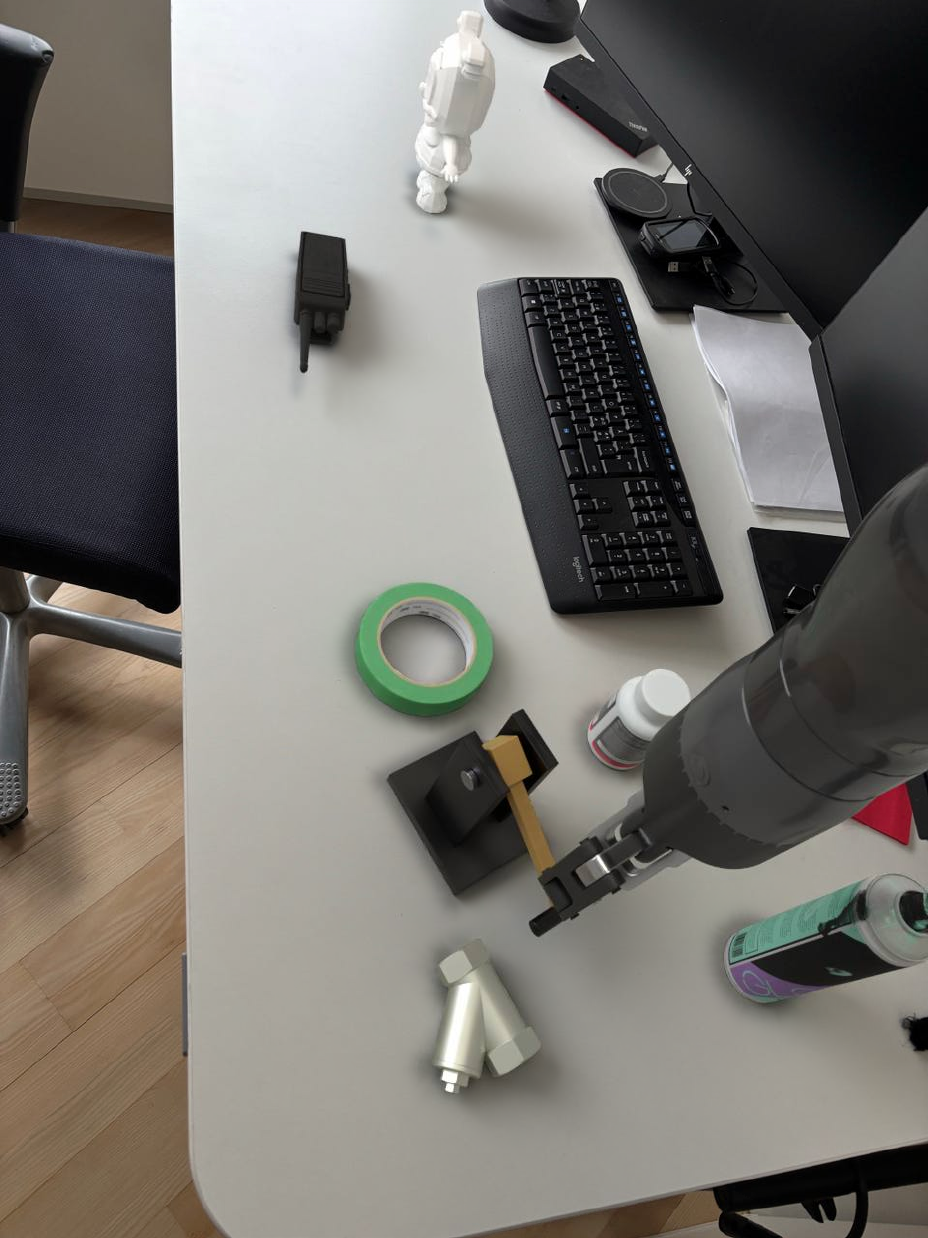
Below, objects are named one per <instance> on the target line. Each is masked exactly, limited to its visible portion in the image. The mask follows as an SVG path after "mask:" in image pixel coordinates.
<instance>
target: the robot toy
mask: <svg viewBox="0 0 928 1238" xmlns="http://www.w3.org/2000/svg"><path fill="white" fill-rule="evenodd" d="M483 25H484V16H483V14H481V13H480V12H476V11H473V10H469V9H465V10H461V13H460V16H458V17H457V19H456V26H457V28H458V30H457V31H456V32H454V33H453V34H451V35H450V36H448V37H446V38H445V40H444V41H442V40H440V42H439V48H438V49H437V50H435V51H433V53H432V55H431V57H430V60H429V65H428V69H427V72H426V79H425V81H421V83H420V84H419V86H418V91H419V92H418V93H419V94H420V96H421V97H422V107H423V111H424V121H423V124H422V126H421V127H420V130H419V131H418V133H417V136H416V139H415V142H414V154H415V160H416V162H417V163H418V165H419V166H420V168H421V169H422V170H420V172H419V174H418V177H417V179H416V186H417V189H418V190H419V191H418V193H417V195H416V204H417V206H418V207H420V208H421V209H422V211H424V212H426V213H429V214H441V213H442V212H444V211H445V210H446V208H447V204H448V198H447V195H446V194H445V192H446V190H447V188H448V187H449V186H450V185H451V184H454V183H456V184H458V183H459V181H460V176H461V175H463V174H465V173H466V172H467V171H468V169H469V167H470V165H471V163H472V160H473V155H472V151H471V145H472V138H471V136H472V135H473V134H475V133H476V132H477V131H478V130H480V129H481V128H482V127H483V124H484V122H485V120H486V117H487V116H488V112H489V110H490V107H491V104H492V102H493V98H494V95H495V90H496V66H495V62H496V61H495V59H494V58H495V57H493V54H492V52H491V50H490V48H489V47H488V45H487V44H486V43H485V42H484V41H483V40H482V39H481V37H480V36H482V31H483Z"/></svg>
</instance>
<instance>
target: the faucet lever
mask: <svg viewBox="0 0 928 1238" xmlns="http://www.w3.org/2000/svg"><path fill="white" fill-rule="evenodd" d="M495 737H496V736H495ZM495 737H493V739H490V740H488V741H487V742H485V743H483V745H482V746H483V748H484V749H485V751H486V752H487V754H488V756H489V757H490V759H491V760H492V762H493V764H494V765H495V767H496V768H497V770H498V771H499V773H500V775H501V776H502V778H503V779H504V781H505V783H506V784H507V786H508V787H509V789H510V792H509V793H508V794H507V795H506V796H507V798H508V801H509V803H510V806H511V808H512V811H513V813H514V816H515V818H516V821H517V823H518V826H519V828H520V831H521V833H522V836H523V838H524V841H525V843H526V846H527V848H528V853H529V856H530V858H531V860H532V863H533V866H534V868H535V870H536V873H537V876H538V877H540V876H541V875H542V873H541V872H542V871H543V870H545V869H546V868H548V867H550V868H551V867H552V866H554V865H555V864H556V862H555V860H554V856H553V854H552V852H551V849H550V846H549V844H548V842H547V839H546V836H545V834H544V831H543V829H542V827H541V824H540V821H539V819H538V817H537V814H536V812H535V809H534V806H533V804H532V802H531V799H530V797H529V796H530V795H529V796H528V794H527V791H526V789H525V786H524V784H523V781H522V780H523V779H524V778H526V777H528V776H530V775H532V771H531V769H530V766H529V764H528V761H527V759H526V756H525V753H524V751H523V748H522V746H521V743H520V741H519V738H518V736H505V735H500V736H498V737H496V738H495ZM542 887H544V886H542ZM544 893H545V896H546V899H547V901H548V903H549V905H550V907H549V908H547V909H545V910H544V911H542V912H541V913H539V914H537V915H536V916H535V917H533V918H532V919H530V920H529V921H528V925H529V929H530V931H531V933H532V934H533V935H534V936H535V937H537V938H540V937H542V936H544V935H546V934H547V933H548V932H549V931H551V930H553V929H554V928H556V927H557V926H558V925H560V924H562V923H563V922H564V921H563V920H562V918H561V917H560V915H559V913H560V912H557V910H556V909H555V907H554V905H553V904H552V902H551V900H550V899H549V897H548V896H547V894H546V892H545V891H544Z"/></svg>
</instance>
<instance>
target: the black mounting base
mask: <svg viewBox="0 0 928 1238" xmlns="http://www.w3.org/2000/svg"><path fill="white" fill-rule="evenodd" d="M500 735H505V736H518V738H519V741H520V743H521V746H522V748H523V751H524V753H525V756H526V759H527V761H528V764H529V766H530V769H531V771H532V775H530V776H528V777H526V778H524V779H523V780H522V781H523V784H524V786H525V789H526V791H527V794H528V796H530V795H531V794H532V793H533V792H534V791H535V790H536V789H537V788H538V787H539V785H541V784H542V783H543V781H544V780H546V778H547V777H548V776H549V775H550V774H551V773H552V772H553V770H555V768H556V767H558V766H559V761H558V759H557V758H556V756H555V755H554V754H553V752H552V751H551V749H550V747H549V746H548V744H547V743H546V741H545V740H544V737H542V735H541V734H540V732H539V730H538V729H537V727H536V726H535V725H534V723H533V721H532V719H531V718H530V717H529V715H528V714H527V712H526V711H525V709H524V708H520V709H519V710H517V711H515V712H512V713H511V714H510V716H509V717H508V719H507V720H506V721H505V723H504V724H503V725H502V727H501V729H500V730H499V731H498V732H497V734H496V735H495V736H494V738H496V737H498V736H500ZM483 744H484V742H483V740H482V739H481V737H480V735H479V734H478V732H477V730H473V731H471V732H469V733H467V734H466V735H464V736H462V737H459V738H458V739H455V740H453V741H452V742H450V743H448V744H446V745H444V746H442V747H440V748H437V749H436V750H434V751H432V752H431V753H428V754H426V755H424V756H422V757H419V758H417V760H415V761H412V762H410V763H408V764H407V765H405V766H403V767H401V768H399V769H397V770H395V771H393V772H391V773H389V774H388V777H386V781H387V783H388V785H389V786H390V788H391V790H392V791H393V793H394V795H395V797H396V799H397V800H398V802H399V803H400V805H401V807H402V809H403V810H404V812H405V814H406V815H407V817H408V820H409V821H410V822H411V824H412V825H413V827H414V829H415V831H416V833H417V834H418V836H419V838H420V840H421V841H422V843H423V845H424V846H425V848H426V850H427V851H428V853H429V854H430V858H431V859H432V860H433V861H434V864H435V865H436V867H437V870H438V871H439V872H440V874H441V876H442V877H443V879H444V881H445V882H446V884H447V886H448V888H449V889H450V891H451V893H452V894H453V896H457V895H458V894H460V893H462V892H463V891H465V890H467V889H468V888H470V887H472V886H473V885H475V884H477V883H478V882H479V881H481V880H483V879H485V878H486V877H489V876H490V875H491V874H493V873H495V872H496V871H499V870H500V869H501V868H503V867H504V866H506V865H508V864H509V863H511V862H513V861H515V860H516V859H517V858H519V857H521V856H523V855H524V854H526V853H529V851H528V848H527V846H526V843H525V841H524V838H523V836H522V833H521V831H520V828H519V826H518V823H517V821H516V818H515V816H514V813H513V811H512V808H511V806H510V803H509V801H508V798H507V796H506V795H507V794H508V793H509V792H510V789H509V787H508V786H507V784H506V783H505V781H504V779H503V778H502V776H501V775H500V773H499V771H498V770H497V768H496V767H495V765H494V764H493V762H492V760H491V759H490V757H489V756H488V754H487V752H486V751H485V749H484V748H483V746H482V745H483Z"/></svg>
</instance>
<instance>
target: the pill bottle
mask: <svg viewBox="0 0 928 1238" xmlns="http://www.w3.org/2000/svg"><path fill="white" fill-rule="evenodd" d="M691 699H692V697H691V691H690V688H689V686H688V685H687V683H686V682H685V680H684V679H683V678H682V677H681V676H680V675H679V674H678V673H676V672H674V671H672V670H670V669H667V668H666V669H665V668H655V669H652V670H650V671H649V672H647V673H646V674H645V675H639V676H635V677H633V678H630V679H629V680H627V681H626V682H624V683H623V684H622V685H621V687H620V688H619V689H618V690H617V691H616V692H615V693H614V694H613V695H612V696H611V698H609V700H608V701H607V702H606V703H605V704H604V705H603V706H602V707H601V708H600V710H599V711H598V712H597V713H596V714H595V716H593V717H592V719H591V720H590V722H589V725H588V728H587V741H588V745H589V747H590V749H591V751H592V753H593V755H594V756H595V757H596V758H597V759H598V760H599V761H600V762H601V763H602V764H604V766H605V765H606V766H607V767H609V768H612V769H615V770H619V771H620V770H622V771H624V770H625V771H626V770H631V769H634V768H636V767H637V766H639V765H640V764H642V763H644V758H645V754H646V751H647V748H648V746H649V744H650V742H651V740H652V739H653V737H654V736H655V734H656V733H657V732H658V731H659V730H660V729H661V728H662V727H663V726H664V725H665V724H666V723H667V722H668V721H670V720H671V719H672V718H673V717H674V716H675V715H676V714H677V713H678V712H679V711H681V710H682V709H683V708H684V707H685V706H686V705H687V704H688V703H689V702H690V701H691Z"/></svg>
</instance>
